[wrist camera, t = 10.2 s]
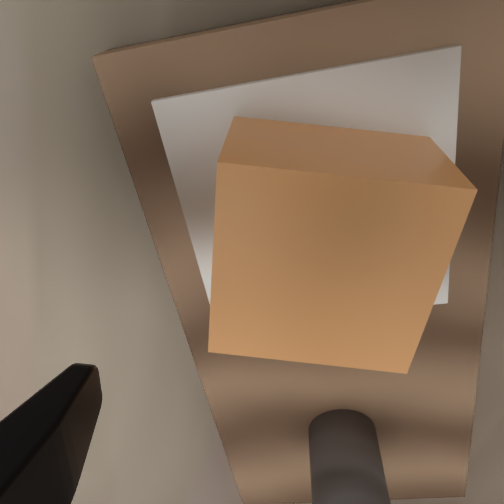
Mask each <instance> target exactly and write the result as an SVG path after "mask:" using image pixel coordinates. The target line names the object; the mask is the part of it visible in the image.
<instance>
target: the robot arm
mask: <svg viewBox="0 0 504 504" xmlns="http://www.w3.org/2000/svg"><path fill="white" fill-rule="evenodd" d="M101 404H102V391H101V384H100V377H99V371H98V368H97V367H96V366H95V365H91V364H81V363H75V364H72V365H71V366H69V367H68V368H67V369H65V370H64V371H63V372H62V373H60V374H59V375H58V376H57V377H55V378H54V379H53V380H52V381H50V382H49V383H48V384H47V385H45V386H44V387H43V388H42V389H40V390H39V391H38V392H37V393H35V394H34V395H33V396H32V397H30V398H29V399H28V400H27V401H25V402H24V403H23V404H22V405H20V406H19V407H18V408H17V409H15V410H14V411H13V412H12V413H10V414H9V415H8V416H7V417H5V418H4V419H3V420H2V421H0V504H71V502H72V499H73V497H74V494H75V491H76V488H77V485H78V482H79V479H80V476H81V472H82V469H83V466H84V462H85V459H86V456H87V452H88V449H89V446H90V442H91V439H92V435H93V432H94V429H95V425H96V422H97V419H98V415H99V412H100V408H101Z"/></svg>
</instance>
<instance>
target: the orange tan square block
mask: <svg viewBox="0 0 504 504" xmlns="http://www.w3.org/2000/svg"><path fill="white" fill-rule="evenodd" d="M477 191H478V189H477V188H476V187H475V186H474V185H473V184H472V183H471V182H470V181H469V180H468V178H467V177H466V176H465V175H464V174H463V173H462V172H461V171H460V170H459V169H458V168H457V166H456V165H455V164H454V163H453V162H452V161H451V160H450V159H449V158H448V157H447V155H446V154H445V153H444V152H443V151H442V150H441V149H440V148H439V147H438V146H437V144H436V143H435V142H434V141H433V140H432V139H431V138H430V137H427V136H417V135H408V134H398V133H389V132H379V131H370V130H360V129H351V128H341V127H332V126H322V125H313V124H303V123H294V122H284V121H275V120H265V119H256V118H247V117H237V116H234V118H233V120H232V123H231V126H230V128H229V131H228V134H227V136H226V139H225V142H224V145H223V147H222V150H221V153H220V155H219V158H218V161H217V174H216V194H215V215H214V236H213V257H212V278H211V298H210V319H209V340H208V352H211V353H221V354H230V355H239V356H248V357H257V358H266V359H275V360H284V361H293V362H303V363H312V364H321V365H330V366H339V367H348V368H357V369H366V370H376V371H385V372H394V373H403V374H407V372H408V370H409V367H410V365H411V362H412V359H413V357H414V354H415V352H416V349H417V346H418V344H419V341H420V339H421V336H422V333H423V331H424V328H425V326H426V323H427V320H428V318H429V315H430V313H431V310H432V307H433V305H434V302H435V300H436V297H437V294H438V292H439V289H440V287H441V284H442V281H443V279H444V276H445V274H446V271H447V269H448V266H449V263H450V261H451V258H452V256H453V253H454V250H455V248H456V245H457V243H458V240H459V237H460V235H461V232H462V230H463V227H464V224H465V222H466V219H467V217H468V214H469V211H470V209H471V206H472V204H473V201H474V198H475V196H476V193H477Z"/></svg>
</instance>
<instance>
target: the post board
mask: <svg viewBox="0 0 504 504" xmlns="http://www.w3.org/2000/svg"><path fill="white" fill-rule="evenodd" d="M91 59H92V62H93V65H94V67H95V70H96V73H97V76H98V79H99V82H100V85H101V88H102V91H103V94H104V97H105V100H106V103H107V106H108V109H109V112H110V114H111V117H112V120H113V123H114V126H115V129H116V132H117V135H118V138H119V141H120V144H121V147H122V150H123V153H124V156H125V159H126V161H127V164H128V167H129V170H130V173H131V176H132V179H133V182H134V185H135V188H136V191H137V194H138V197H139V200H140V203H141V206H142V208H143V211H144V214H145V217H146V220H147V223H148V226H149V229H150V232H151V235H152V238H153V241H154V244H155V247H156V250H157V253H158V255H159V258H160V261H161V264H162V267H163V270H164V273H165V276H166V279H167V282H168V285H169V288H170V291H171V294H172V297H173V300H174V302H175V305H176V308H177V311H178V314H179V317H180V320H181V323H182V326H183V329H184V332H185V335H186V338H187V341H188V344H189V346H190V349H191V352H192V355H193V358H194V361H195V364H196V367H197V370H198V373H199V376H200V379H201V382H202V385H203V388H204V391H205V393H206V396H207V399H208V402H209V405H210V408H211V411H212V414H213V417H214V420H215V423H216V426H217V429H218V432H219V435H220V438H221V440H222V443H223V446H224V449H225V452H226V455H227V458H228V461H229V464H230V467H231V470H232V473H233V476H234V479H235V482H236V485H237V487H238V490H239V493H240V496H241V499H242V502H243V504H287V503H312V504H391V503H390V500H391V499H417V498H443V497H465V491H466V481H467V472H468V463H469V454H470V445H471V435H472V426H473V417H474V408H475V399H476V389H477V380H478V371H479V362H480V353H481V343H482V334H483V325H484V316H485V307H486V297H487V288H488V279H489V270H490V260H491V251H492V242H493V233H494V224H495V214H496V205H497V196H498V187H499V178H500V168H501V159H502V150H503V141H504V0H354V1H350V2H345V3H340V4H335V5H330V6H325V7H320V8H315V9H310V10H305V11H300V12H295V13H290V14H285V15H280V16H275V17H270V18H265V19H260V20H255V21H250V22H245V23H240V24H235V25H230V26H225V27H220V28H215V29H210V30H205V31H200V32H195V33H190V34H185V35H180V36H175V37H170V38H166V39H161V40H156V41H151V42H146V43H141V44H136V45H131V46H126V47H121V48H116V49H111V50H107V51H104V52H102V53H100V54H97V55H95V56H92V57H91ZM234 116H237V117H247V118H256V119H265V120H275V121H284V122H294V123H303V124H313V125H322V126H332V127H341V128H351V129H360V130H370V131H379V132H389V133H398V134H408V135H417V136H427V137H430V138H431V139H432V140H433V141H434V142H435V143H436V144H437V146H438V147H439V148H440V149H441V150H442V151H443V152H444V153H445V154H446V155H447V157H448V158H449V159H450V160H451V161H452V162H453V163H454V164H455V165H456V166H457V168H458V169H459V170H460V171H461V172H462V173H463V174H464V175H465V176H466V177H467V178H468V180H469V181H470V182H471V183H472V184H473V185H474V186H475V187H476V188H477V189H478V191H477V193H476V196H475V198H474V201H473V204H472V206H471V209H470V211H469V214H468V217H467V219H466V222H465V224H464V227H463V230H462V232H461V235H460V237H459V240H458V243H457V245H456V248H455V250H454V253H453V256H452V258H451V261H450V263H449V266H448V269H447V271H446V274H445V276H444V279H443V281H442V284H441V287H440V289H439V292H438V294H437V297H436V300H435V302H434V305H433V307H432V310H431V313H430V315H429V318H428V320H427V323H426V326H425V328H424V331H423V333H422V336H421V339H420V341H419V344H418V346H417V349H416V352H415V354H414V357H413V359H412V362H411V365H410V367H409V370H408V372H407V374H403V373H394V372H385V371H376V370H366V369H357V368H348V367H339V366H330V365H321V364H312V363H303V362H293V361H284V360H275V359H266V358H257V357H248V356H239V355H230V354H221V353H211V352H208V340H209V319H210V298H211V278H212V257H213V236H214V215H215V194H216V174H217V161H218V158H219V155H220V153H221V150H222V147H223V145H224V142H225V139H226V136H227V134H228V131H229V128H230V126H231V123H232V120H233V118H234Z"/></svg>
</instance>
